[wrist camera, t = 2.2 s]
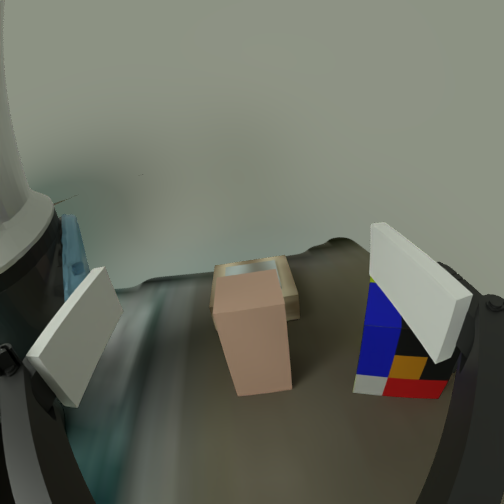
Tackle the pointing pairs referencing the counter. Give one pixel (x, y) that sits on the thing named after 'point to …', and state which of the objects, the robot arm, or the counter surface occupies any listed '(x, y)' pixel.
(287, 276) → the pedestal
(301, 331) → the counter surface
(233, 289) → the pillar block
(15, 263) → the robot arm
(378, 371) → the puzzle toy
